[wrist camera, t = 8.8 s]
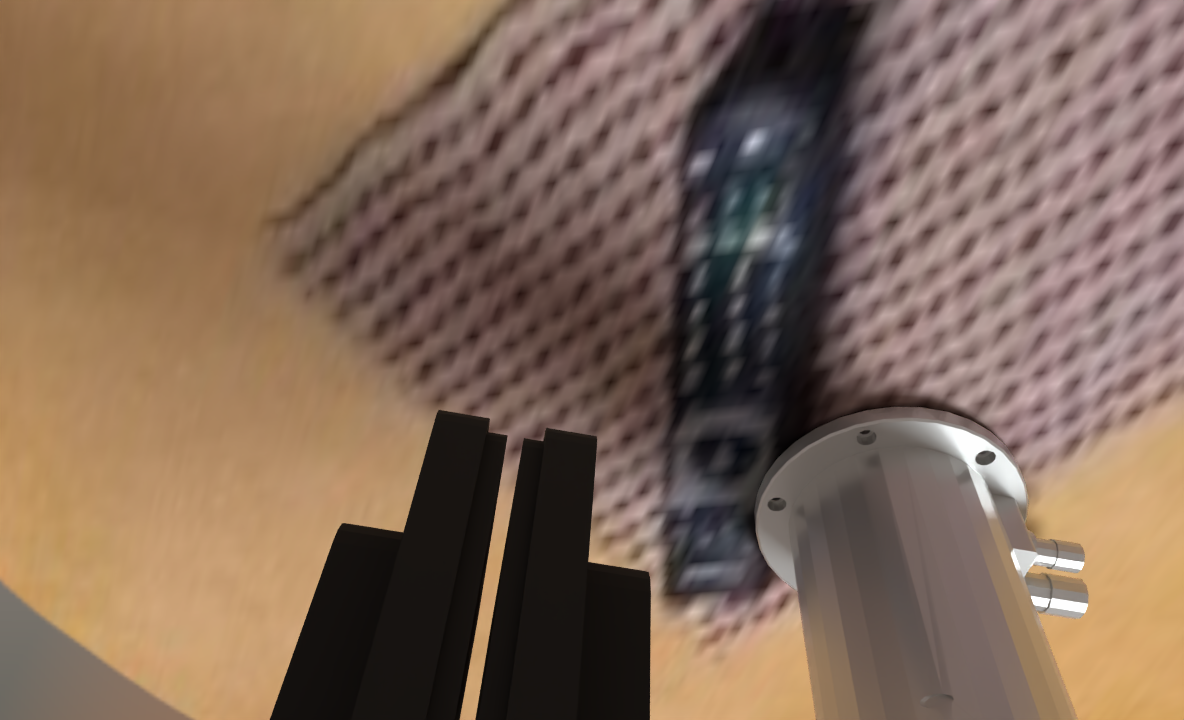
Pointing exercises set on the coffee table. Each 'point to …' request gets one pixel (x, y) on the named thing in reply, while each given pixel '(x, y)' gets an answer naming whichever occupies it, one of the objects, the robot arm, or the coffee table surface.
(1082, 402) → the coffee table surface
